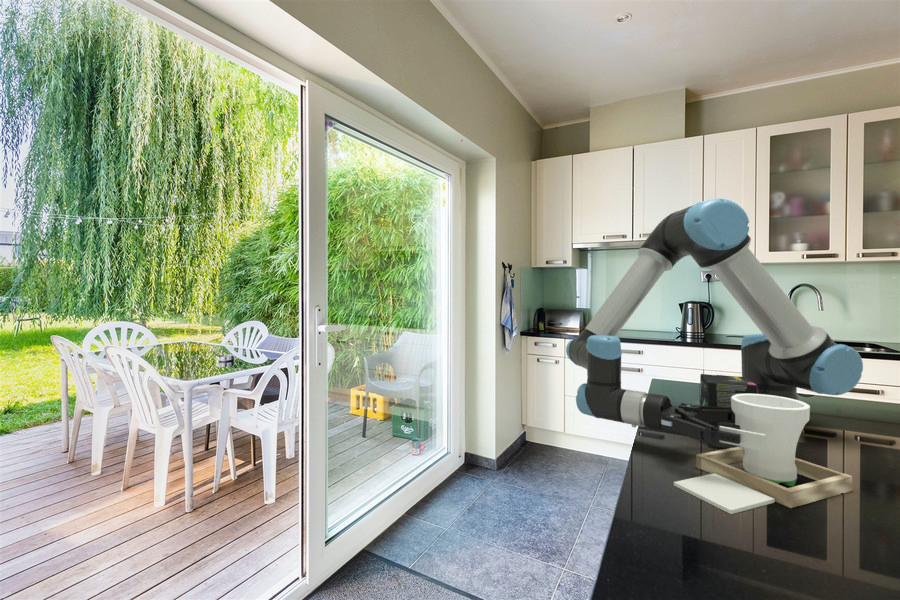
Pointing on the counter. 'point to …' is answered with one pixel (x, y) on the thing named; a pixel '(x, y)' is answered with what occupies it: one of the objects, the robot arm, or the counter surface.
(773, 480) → the cup
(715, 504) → the felt mat
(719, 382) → the tampon box
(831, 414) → the counter surface
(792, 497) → the birch frame
